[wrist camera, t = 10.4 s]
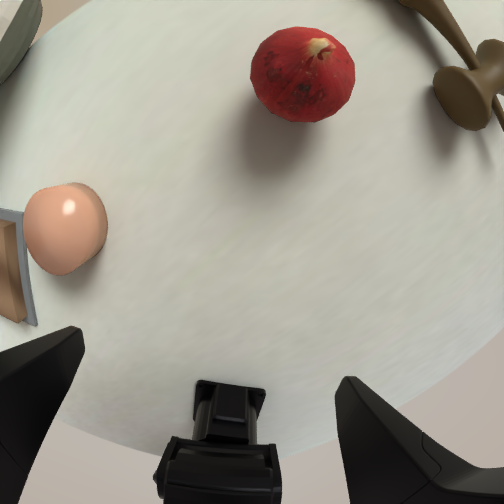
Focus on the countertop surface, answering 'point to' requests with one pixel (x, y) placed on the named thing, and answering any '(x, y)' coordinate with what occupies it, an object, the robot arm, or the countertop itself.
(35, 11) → the bowl
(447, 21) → the kendama
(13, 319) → the cover
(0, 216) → the mat
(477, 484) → the robot arm
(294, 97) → the onion
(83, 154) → the countertop surface
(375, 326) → the countertop surface
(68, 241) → the peach rounded knob
